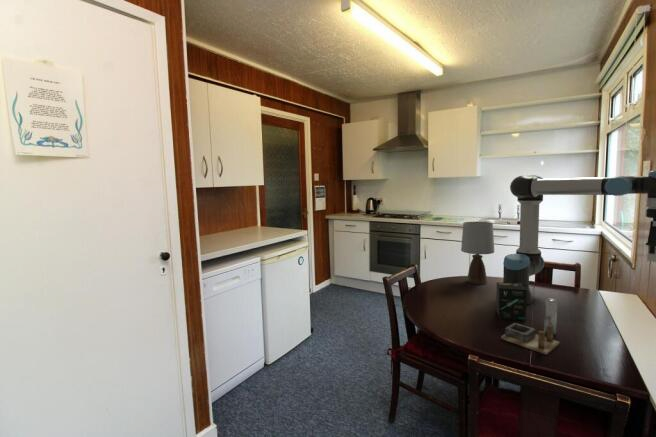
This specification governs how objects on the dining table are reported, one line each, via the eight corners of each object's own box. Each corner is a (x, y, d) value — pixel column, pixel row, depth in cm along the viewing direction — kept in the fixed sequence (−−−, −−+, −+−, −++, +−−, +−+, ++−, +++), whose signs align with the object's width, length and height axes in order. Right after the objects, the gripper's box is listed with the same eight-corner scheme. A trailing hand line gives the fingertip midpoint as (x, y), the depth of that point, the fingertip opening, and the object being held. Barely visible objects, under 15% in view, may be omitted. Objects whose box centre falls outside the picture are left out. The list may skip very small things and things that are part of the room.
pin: (542, 332, 134) (543, 299, 133) (546, 329, 137) (547, 297, 135) (553, 335, 131) (554, 302, 130) (557, 332, 133) (558, 299, 132)
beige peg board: (501, 338, 130) (501, 321, 129) (515, 329, 137) (515, 313, 136) (546, 354, 117) (547, 336, 117) (559, 344, 124) (560, 326, 124)
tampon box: (521, 313, 154) (522, 283, 152) (526, 321, 145) (527, 289, 144) (495, 311, 157) (496, 281, 156) (498, 318, 149) (499, 287, 147)
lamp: (500, 284, 197) (502, 223, 193) (475, 288, 191) (476, 226, 187) (478, 276, 214) (478, 220, 210) (454, 279, 209) (454, 222, 205)
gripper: (666, 210, 124) (662, 265, 126) (677, 206, 138) (674, 255, 141) (639, 210, 130) (635, 262, 132) (653, 205, 144) (650, 252, 147)
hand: (655, 258), depth 136 cm, fingers open, 13 cm apart
